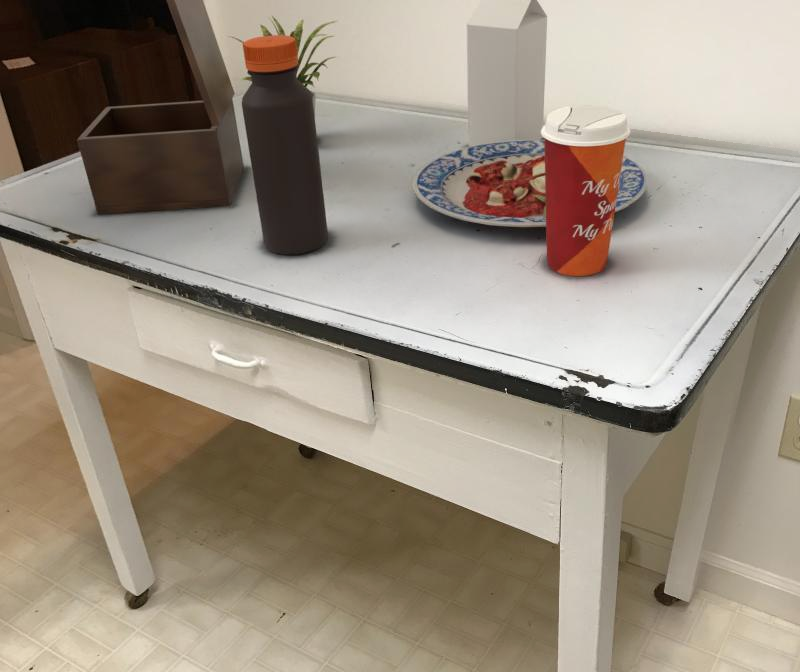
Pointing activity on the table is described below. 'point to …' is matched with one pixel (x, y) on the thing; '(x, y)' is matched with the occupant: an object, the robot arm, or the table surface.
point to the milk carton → (506, 71)
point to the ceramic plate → (503, 183)
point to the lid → (203, 56)
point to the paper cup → (582, 185)
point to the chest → (161, 157)
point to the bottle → (283, 147)
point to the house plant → (297, 36)
